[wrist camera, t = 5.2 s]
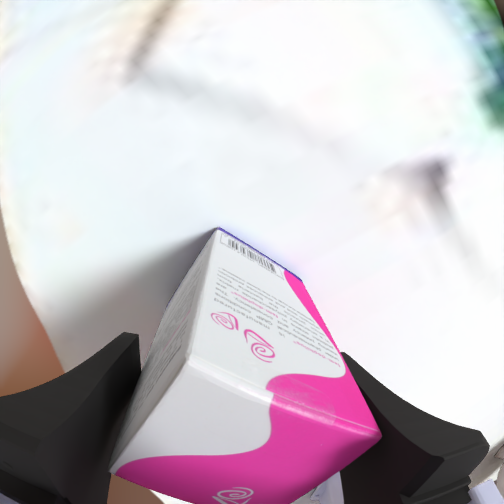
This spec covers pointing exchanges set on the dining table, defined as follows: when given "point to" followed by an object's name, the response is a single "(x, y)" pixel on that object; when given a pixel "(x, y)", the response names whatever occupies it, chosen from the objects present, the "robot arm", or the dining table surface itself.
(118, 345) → the robot arm
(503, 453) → the ceramic pitcher
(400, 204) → the dining table surface
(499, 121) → the dining table surface
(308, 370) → the supplement box
